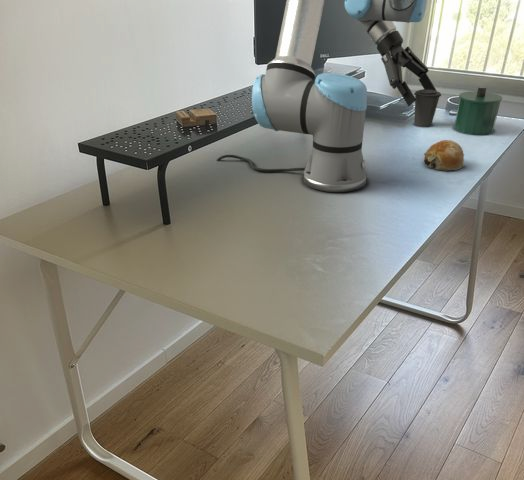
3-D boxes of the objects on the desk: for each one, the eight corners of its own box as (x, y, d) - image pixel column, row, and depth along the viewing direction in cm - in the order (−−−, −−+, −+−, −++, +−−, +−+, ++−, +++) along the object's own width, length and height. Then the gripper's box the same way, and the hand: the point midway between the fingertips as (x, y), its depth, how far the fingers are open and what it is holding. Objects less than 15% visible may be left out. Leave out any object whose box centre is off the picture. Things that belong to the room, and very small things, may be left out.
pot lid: (453, 102, 163) (455, 88, 161) (465, 93, 172) (467, 80, 169) (495, 107, 158) (498, 94, 156) (505, 98, 166) (509, 85, 164)
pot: (449, 131, 169) (455, 99, 163) (460, 122, 176) (466, 91, 171) (487, 137, 164) (495, 104, 158) (497, 127, 171) (504, 96, 166)
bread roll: (457, 185, 143) (477, 157, 139) (424, 168, 141) (443, 139, 136) (447, 171, 151) (466, 145, 147) (416, 155, 149) (434, 127, 144)
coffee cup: (404, 122, 177) (409, 88, 170) (427, 119, 178) (433, 86, 172) (417, 129, 170) (423, 94, 164) (441, 126, 172) (447, 92, 166)
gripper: (397, 41, 180) (432, 98, 181) (356, 53, 165) (393, 114, 166) (415, 24, 174) (450, 83, 175) (373, 34, 159) (412, 98, 160)
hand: (423, 98), depth 171 cm, fingers open, 13 cm apart
